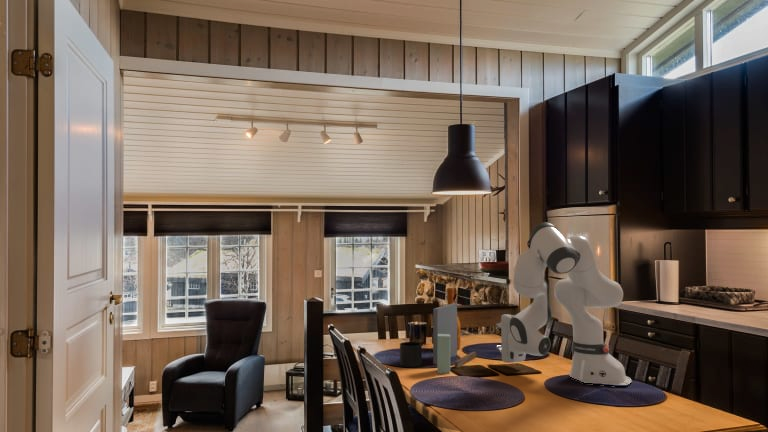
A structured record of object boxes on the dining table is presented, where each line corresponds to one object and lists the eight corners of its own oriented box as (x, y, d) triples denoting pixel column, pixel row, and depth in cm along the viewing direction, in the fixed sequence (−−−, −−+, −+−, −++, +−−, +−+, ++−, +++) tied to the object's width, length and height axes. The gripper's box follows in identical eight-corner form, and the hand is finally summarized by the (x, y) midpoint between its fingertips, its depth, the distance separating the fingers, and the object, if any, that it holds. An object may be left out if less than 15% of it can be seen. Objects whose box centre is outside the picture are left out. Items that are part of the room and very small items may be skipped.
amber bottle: (454, 351, 254) (454, 289, 255) (436, 349, 260) (436, 288, 261) (464, 348, 262) (464, 287, 263) (446, 345, 268) (446, 286, 269)
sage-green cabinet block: (450, 370, 219) (450, 334, 220) (449, 373, 215) (449, 336, 215) (438, 369, 220) (438, 333, 221) (437, 373, 215) (437, 336, 216)
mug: (414, 360, 237) (414, 340, 237) (425, 366, 226) (425, 345, 226) (394, 361, 234) (394, 341, 234) (404, 368, 223) (404, 346, 223)
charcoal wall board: (476, 357, 243) (476, 304, 244) (458, 367, 224) (457, 310, 225) (453, 354, 249) (453, 303, 250) (433, 364, 230) (433, 308, 231)
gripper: (512, 315, 221) (491, 312, 233) (512, 365, 219) (492, 359, 232) (523, 315, 224) (502, 312, 236) (524, 364, 222) (503, 358, 234)
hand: (497, 336), depth 234 cm, fingers open, 8 cm apart
